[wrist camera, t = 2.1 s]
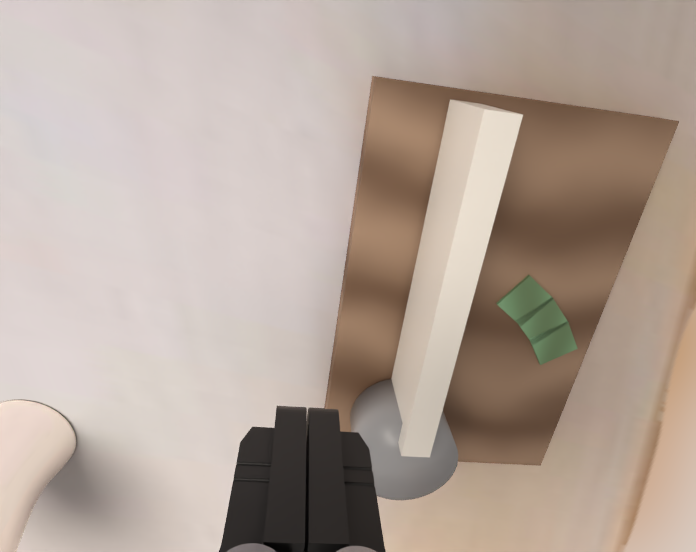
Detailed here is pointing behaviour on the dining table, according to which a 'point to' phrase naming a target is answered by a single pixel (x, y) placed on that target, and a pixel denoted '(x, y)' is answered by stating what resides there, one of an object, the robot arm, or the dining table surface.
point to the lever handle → (438, 306)
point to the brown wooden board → (495, 258)
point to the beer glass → (28, 461)
